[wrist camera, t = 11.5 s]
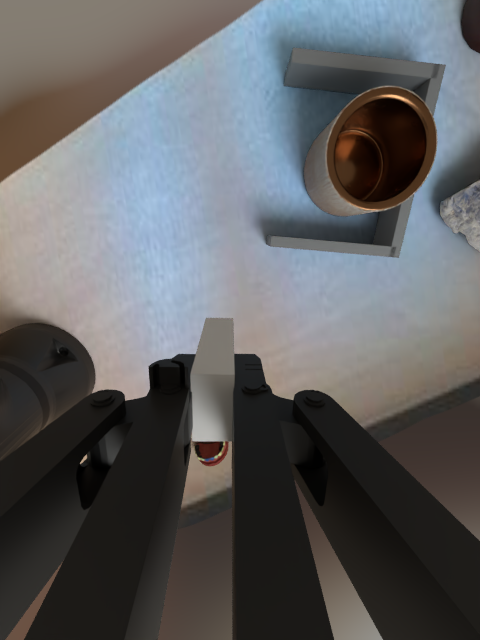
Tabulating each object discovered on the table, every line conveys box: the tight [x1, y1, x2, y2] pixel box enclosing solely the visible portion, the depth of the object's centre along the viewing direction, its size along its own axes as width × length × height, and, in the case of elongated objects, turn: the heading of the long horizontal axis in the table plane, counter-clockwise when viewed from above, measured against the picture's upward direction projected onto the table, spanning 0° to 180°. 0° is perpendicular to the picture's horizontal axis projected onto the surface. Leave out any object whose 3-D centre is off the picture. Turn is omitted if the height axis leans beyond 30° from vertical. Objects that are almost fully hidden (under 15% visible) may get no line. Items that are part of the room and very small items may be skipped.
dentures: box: [191, 434, 228, 466], centre depth 46 cm, size 6×4×8 cm
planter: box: [304, 86, 437, 216], centre depth 32 cm, size 11×11×10 cm
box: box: [266, 48, 446, 258], centre depth 34 cm, size 16×19×5 cm
